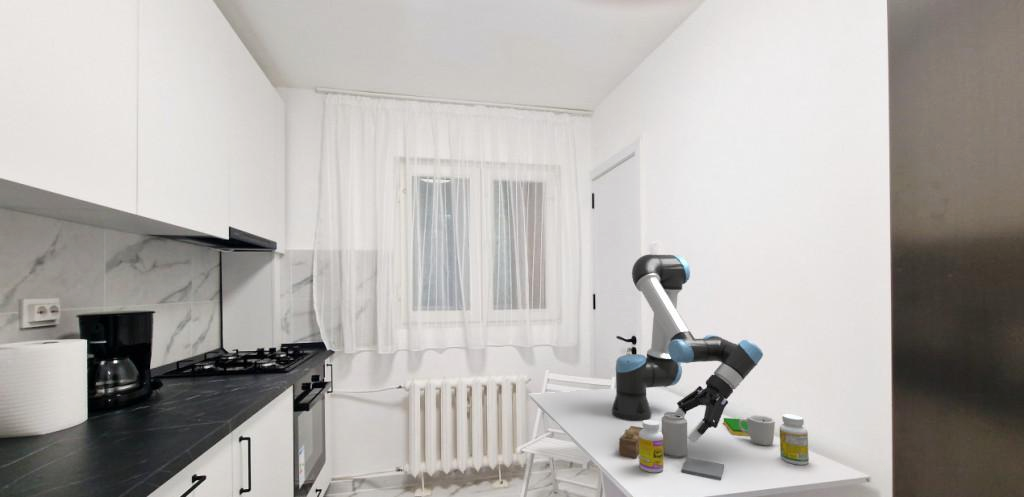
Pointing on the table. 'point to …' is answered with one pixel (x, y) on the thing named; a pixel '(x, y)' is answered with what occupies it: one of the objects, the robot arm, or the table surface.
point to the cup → (759, 429)
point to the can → (674, 434)
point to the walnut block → (630, 442)
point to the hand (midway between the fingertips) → (679, 432)
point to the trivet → (703, 468)
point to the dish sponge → (735, 426)
